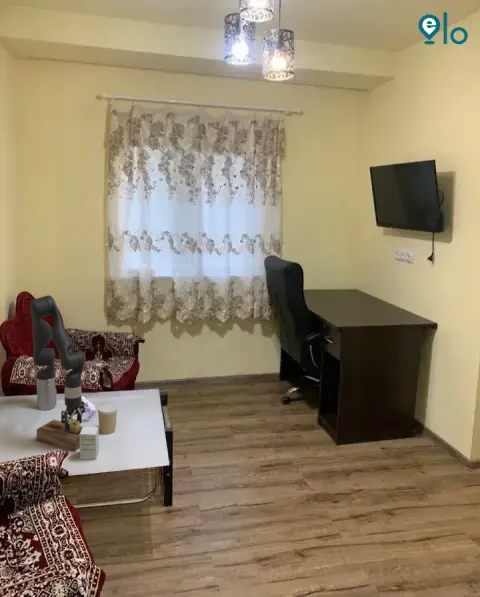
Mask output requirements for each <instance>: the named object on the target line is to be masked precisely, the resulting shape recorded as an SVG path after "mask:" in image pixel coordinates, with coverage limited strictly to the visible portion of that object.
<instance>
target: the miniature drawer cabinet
mask: <svg viewBox="0 0 480 597" xmlns="http://www.w3.org/2000/svg"><path fill="white" fill-rule="evenodd" d="M82 427H83V428H82V430H81V432H80V448H79V460H90V461H91V460H97V458H98V455H99V452H100V451H99V450H100V447H99V446H100V444H99V443H100V439H99V438H100V436H99V433H100V430H99V426H82Z"/></svg>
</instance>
